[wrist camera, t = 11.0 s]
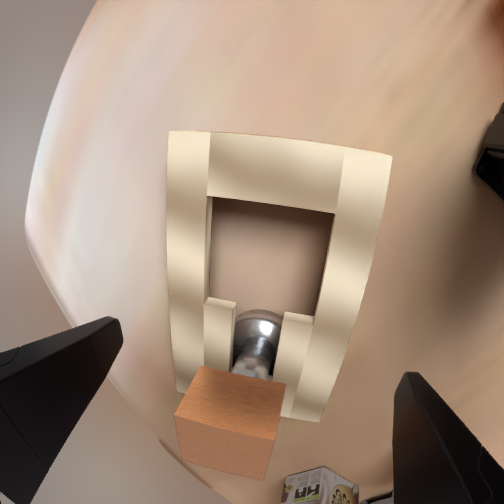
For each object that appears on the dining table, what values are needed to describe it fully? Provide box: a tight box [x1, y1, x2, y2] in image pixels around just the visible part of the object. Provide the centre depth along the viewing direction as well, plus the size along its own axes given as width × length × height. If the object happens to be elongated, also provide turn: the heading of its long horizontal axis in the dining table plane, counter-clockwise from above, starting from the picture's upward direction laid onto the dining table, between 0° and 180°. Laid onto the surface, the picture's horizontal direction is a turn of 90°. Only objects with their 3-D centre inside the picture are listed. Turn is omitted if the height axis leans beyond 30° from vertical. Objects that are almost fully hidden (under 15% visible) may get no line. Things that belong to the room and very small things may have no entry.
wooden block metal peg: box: [174, 310, 286, 480], centre depth 19 cm, size 5×5×11 cm
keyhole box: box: [167, 131, 392, 422], centre depth 20 cm, size 20×12×4 cm, turn 175°
